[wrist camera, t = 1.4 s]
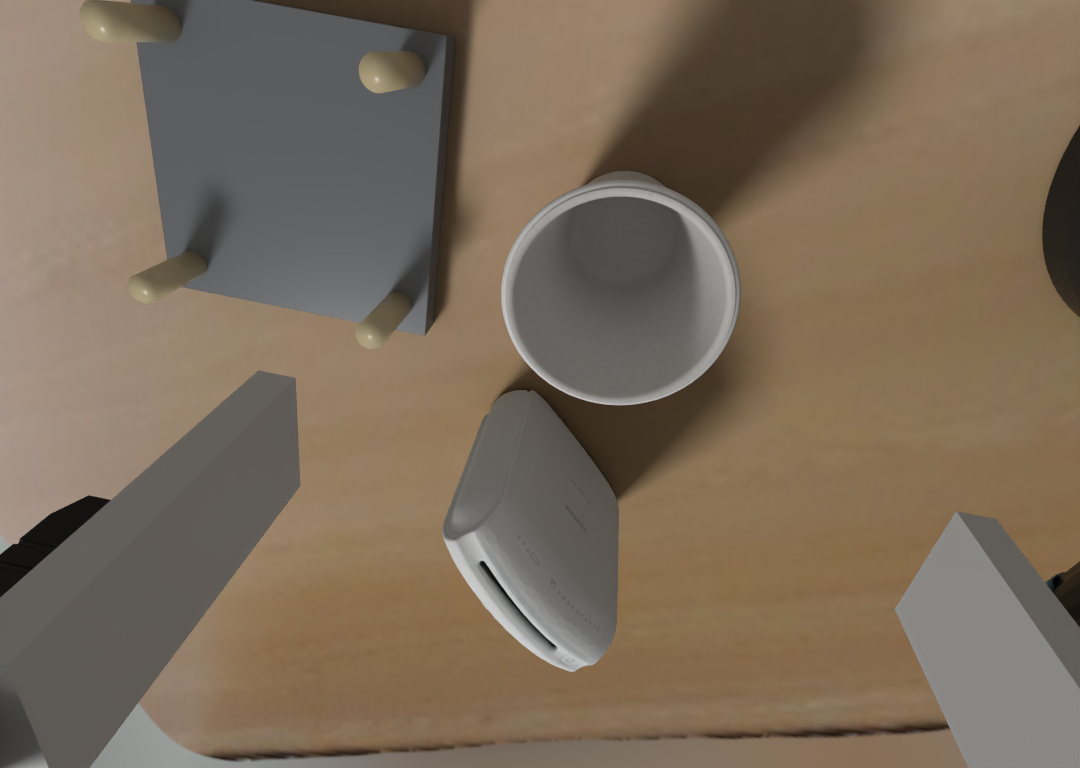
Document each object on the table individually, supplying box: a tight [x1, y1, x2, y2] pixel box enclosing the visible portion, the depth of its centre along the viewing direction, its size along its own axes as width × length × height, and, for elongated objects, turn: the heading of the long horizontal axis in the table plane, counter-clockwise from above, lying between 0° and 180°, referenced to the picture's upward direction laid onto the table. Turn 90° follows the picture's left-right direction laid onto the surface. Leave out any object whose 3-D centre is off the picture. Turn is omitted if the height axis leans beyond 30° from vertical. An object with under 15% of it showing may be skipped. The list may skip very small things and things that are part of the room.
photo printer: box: [442, 390, 619, 672], centre depth 32 cm, size 10×4×12 cm, turn 34°
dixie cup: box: [501, 171, 741, 405], centre depth 26 cm, size 8×8×10 cm
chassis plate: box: [80, 0, 455, 349], centre depth 29 cm, size 14×14×6 cm
